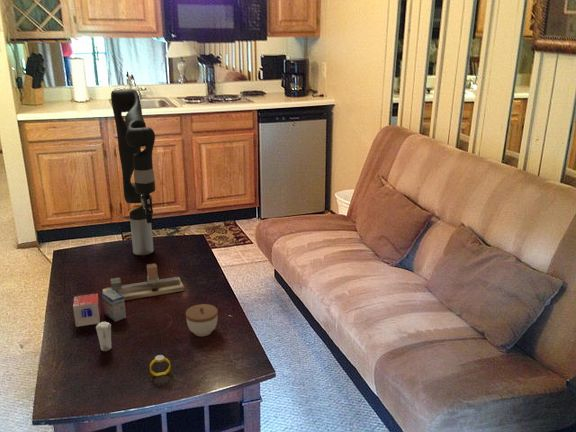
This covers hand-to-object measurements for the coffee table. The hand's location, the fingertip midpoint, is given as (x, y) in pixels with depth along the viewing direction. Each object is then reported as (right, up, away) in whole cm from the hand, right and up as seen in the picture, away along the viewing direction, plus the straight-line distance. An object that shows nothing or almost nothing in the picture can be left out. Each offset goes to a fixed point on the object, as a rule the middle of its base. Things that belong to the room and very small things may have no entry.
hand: (148, 219), depth 205 cm
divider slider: (+2, -26, +1) cm, 26 cm away
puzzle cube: (-16, -36, -20) cm, 44 cm away
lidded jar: (+26, -38, -28) cm, 54 cm away
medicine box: (-7, -35, -18) cm, 40 cm away
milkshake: (-3, -42, -38) cm, 57 cm away
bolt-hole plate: (-2, -29, 0) cm, 29 cm away
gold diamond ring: (+17, -46, -51) cm, 71 cm away
